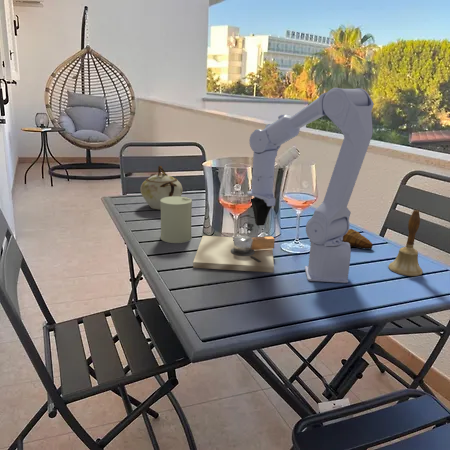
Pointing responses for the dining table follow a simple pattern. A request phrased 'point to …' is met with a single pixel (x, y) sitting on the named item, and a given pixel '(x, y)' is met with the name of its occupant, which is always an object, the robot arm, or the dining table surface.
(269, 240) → the wooden handled dome
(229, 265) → the base plate
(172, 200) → the can
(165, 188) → the sugar bowl
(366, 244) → the croissant
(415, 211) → the hand bell
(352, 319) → the dining table surface
